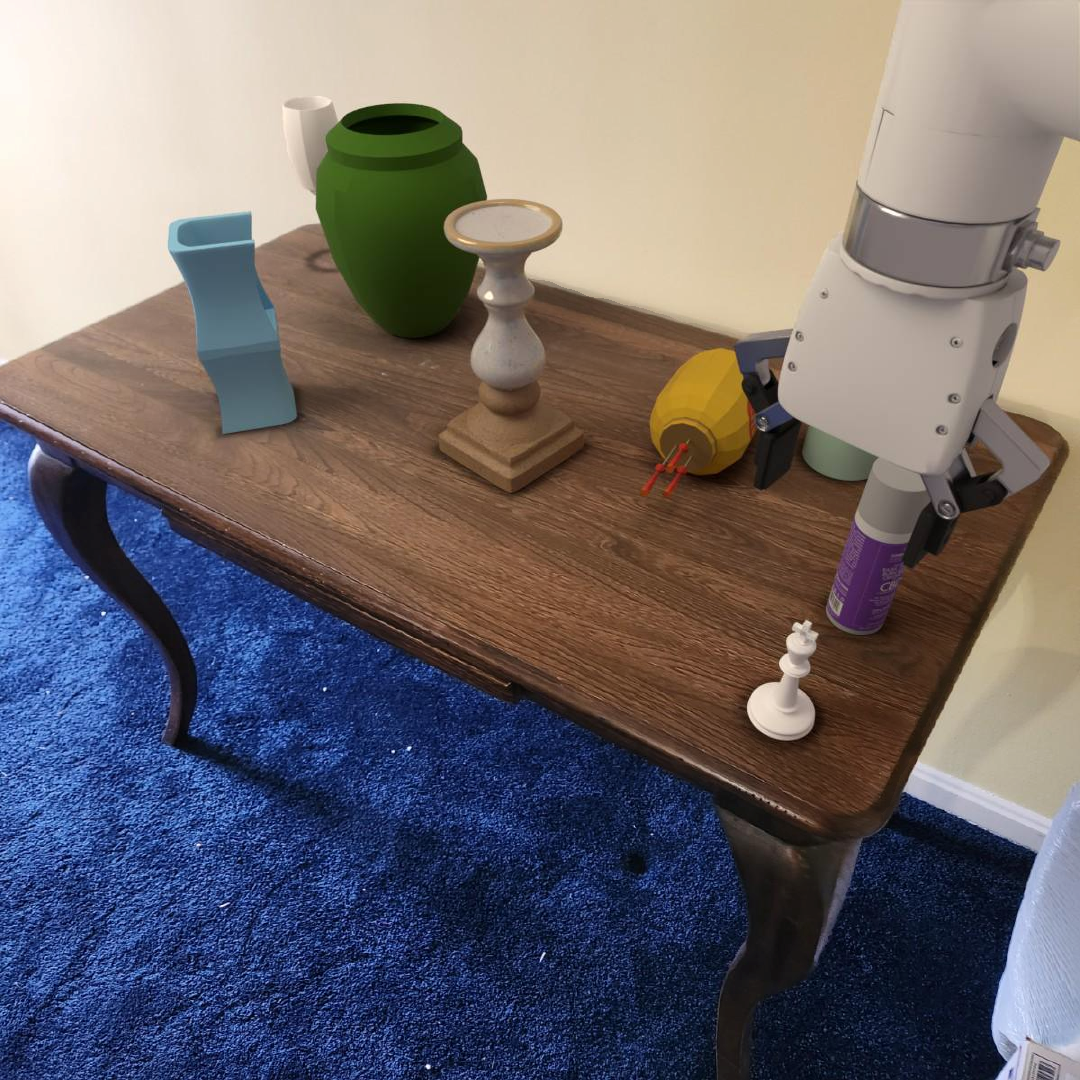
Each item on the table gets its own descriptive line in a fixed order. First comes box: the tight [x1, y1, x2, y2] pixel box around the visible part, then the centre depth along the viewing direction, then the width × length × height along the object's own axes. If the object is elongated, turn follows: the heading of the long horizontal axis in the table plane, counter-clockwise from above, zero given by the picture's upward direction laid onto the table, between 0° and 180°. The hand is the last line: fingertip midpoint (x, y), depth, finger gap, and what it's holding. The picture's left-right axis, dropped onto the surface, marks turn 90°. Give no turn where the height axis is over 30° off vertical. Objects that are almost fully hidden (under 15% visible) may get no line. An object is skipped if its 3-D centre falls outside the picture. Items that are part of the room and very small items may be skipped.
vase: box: [315, 102, 488, 339], centre depth 101 cm, size 20×20×24 cm
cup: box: [281, 95, 339, 196], centre depth 116 cm, size 7×7×21 cm
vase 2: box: [167, 210, 298, 435], centre depth 88 cm, size 8×8×20 cm
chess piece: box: [746, 619, 819, 741], centre depth 61 cm, size 5×5×10 cm
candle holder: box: [438, 198, 585, 494], centre depth 81 cm, size 11×11×24 cm
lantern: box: [639, 347, 758, 499], centre depth 85 cm, size 10×10×30 cm
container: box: [825, 458, 931, 636], centre depth 67 cm, size 5×5×15 cm
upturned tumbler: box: [801, 424, 879, 482], centre depth 85 cm, size 8×8×9 cm
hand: (841, 514), depth 51 cm, fingers open, 9 cm apart
